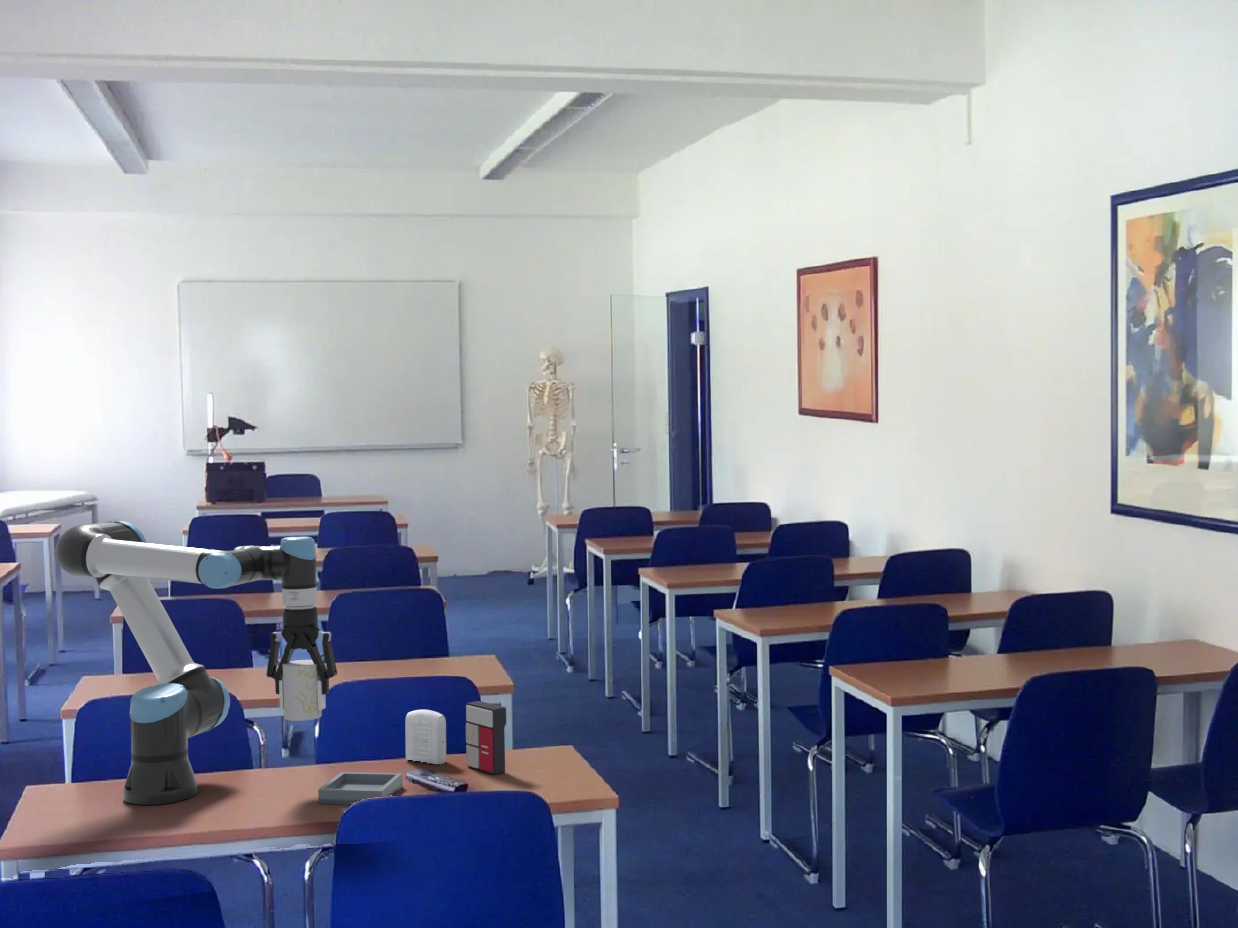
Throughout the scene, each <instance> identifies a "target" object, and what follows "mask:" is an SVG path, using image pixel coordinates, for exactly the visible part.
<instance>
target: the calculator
mask: <svg viewBox="0 0 1238 928" xmlns="http://www.w3.org/2000/svg"><path fill="white" fill-rule="evenodd" d="M465 712H466V713H465V718H466V719H465V720H466V723H465V743H466V745H465V748H466V749H465V750H466V751H465V752H466V753H465V754H466V755H465V759H466V760H465V761H466V762H465V763H466V765H467V767H469V768H472V769H475V770H478V771H482V772H485V773H488V774H491V775H495V776H496V775H499V774H502V773H505V772H506V749H505V748H506V747H505V745H506V743H505V742H506V741H505V738H506V737H505V735H506V734H505V728H506V725H507V708H506V706H503V705H498V704H493V703H489V702H486V701H480V700H476V701H471V702H467V703H466V704H465Z"/></svg>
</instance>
